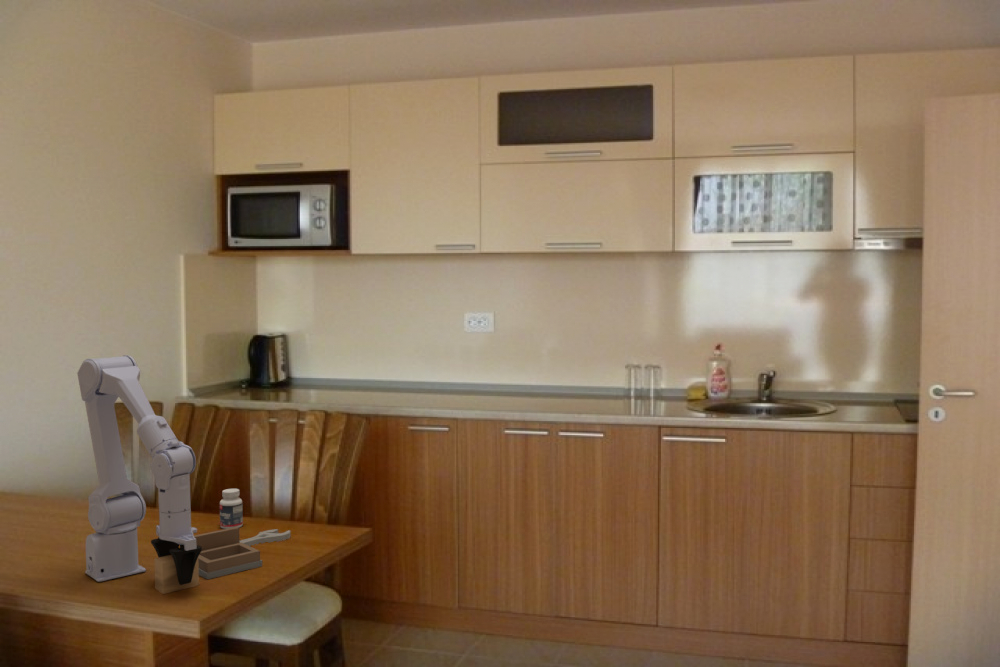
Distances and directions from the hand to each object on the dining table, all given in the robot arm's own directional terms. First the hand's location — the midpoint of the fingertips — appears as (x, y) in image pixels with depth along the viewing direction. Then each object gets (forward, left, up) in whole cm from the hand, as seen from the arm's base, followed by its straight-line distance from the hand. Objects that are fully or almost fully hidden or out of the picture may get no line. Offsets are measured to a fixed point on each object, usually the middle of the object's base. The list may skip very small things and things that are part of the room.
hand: (177, 578), depth 172 cm
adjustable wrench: (+21, +16, -2) cm, 27 cm away
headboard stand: (+12, +6, -2) cm, 14 cm away
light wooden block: (0, 0, -2) cm, 2 cm away
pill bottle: (+27, +33, -2) cm, 43 cm away
